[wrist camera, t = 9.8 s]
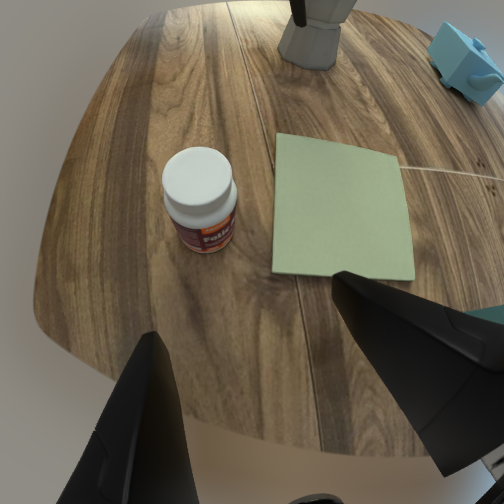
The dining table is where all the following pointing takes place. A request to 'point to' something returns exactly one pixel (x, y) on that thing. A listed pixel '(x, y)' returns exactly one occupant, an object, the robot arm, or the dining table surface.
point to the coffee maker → (314, 32)
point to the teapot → (464, 64)
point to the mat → (339, 211)
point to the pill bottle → (200, 198)
